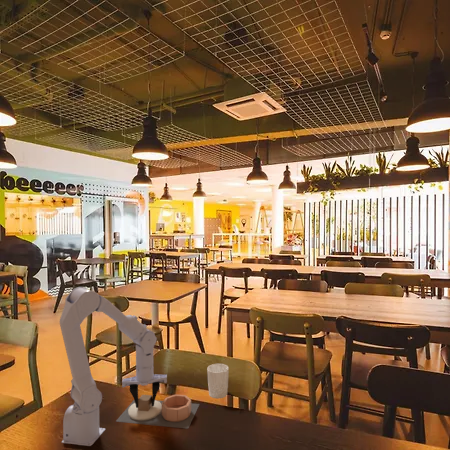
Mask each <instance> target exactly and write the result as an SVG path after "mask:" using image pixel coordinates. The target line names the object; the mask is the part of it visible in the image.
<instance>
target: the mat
mask: <svg viewBox="0 0 450 450" xmlns="http://www.w3.org/2000/svg"><path fill="white" fill-rule="evenodd" d="M155 400H156V399H155ZM156 401H159V402H160V403H161V404H162V402H163V401H164V400H158V399H157V400H156ZM134 403H135V401H134V399H133V400H132V402H131V403H130V404H129V405H128V406H127V407H126V408H125V410H124V411H123V412H122V414H120V416H119V417H118V418H117V419H116V420H115V422H119V423H129V424H137V425H147V426H157V427H158V426H159V427H169V428H177V429H178V428H179V429H186V430H187V429H189V428H190V426H191V423H192V422H193V419H194V418H195V415H196V413H197V411H198V409H199V406H200V405H201V404H200V403H192V402H191V413H190V416H189V417H188V418H187V419H185V420H183V421H179V422H170V421H167V420H165V419H164V418H163V416H162V411H161V413H160V414H159V415H158V416H156V417H155V418H152V419H149V420H144V421H137V420H133V419H131V418H130V417H129V415H128V409H129V407H130V406H131V405H132V404H134Z"/></svg>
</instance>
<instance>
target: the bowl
mask: <svg viewBox="0 0 450 450" xmlns="http://www.w3.org/2000/svg"><path fill="white" fill-rule="evenodd" d="M162 401H163V402H162V416H163V418H164V419H165V420H167V421H170V422H179V421H183V420H185V419H187V418H188V417H189V416H190V413H191V403H192V399H191V398H190V397H189V396H187V395H186V394H173V395H170V396H167V397H165V398H164V400H162Z"/></svg>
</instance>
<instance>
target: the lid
mask: <svg viewBox="0 0 450 450" xmlns="http://www.w3.org/2000/svg"><path fill="white" fill-rule="evenodd" d="M159 401H160V400H157V401H156V399H155V402H154V406H152V395H150V394H141V396H140V397H138V408H136V404H135V403H134V404H132V405H131V406H130V407H129V409H128V415H129V417H130V418H131V419H133V420H137V421H144V420H149V419H152V418H155V417H156V416H158V415H159V414H160V413H161V411H162V404H161V403H160V402H159Z"/></svg>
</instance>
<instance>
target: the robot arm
mask: <svg viewBox="0 0 450 450" xmlns="http://www.w3.org/2000/svg"><path fill="white" fill-rule="evenodd" d="M64 300H65V303H64V306H63V309H62V312H61V316H60V318H59V327H60V331H61V336H62V339H63V343H64V348H65V351H66V356H67V360H68V364H69V369H70V372H71V373H70V374H71V378H72V379H71V381H70V382H71V389H70V397H71V399H72V400H73V401H74V402H73V404H71V405H69V406H68V408H67V409H66V410H65V412H64V416H63V421H62V424H63V425H62V428H63V429H62V430H63V431H62V433H63V434H62V437H63V438H62V441H61V444H69V445H71V444H72V445H78V446H87V447H91V446H92V445H93V444H94V443H95V442H96V441H97V440H98V439H99V438H100V437H101V435H102V434H103V433H104V432H105V431H106V428H105V427H100V405H101V404H102V400H103V394H102V391H100V390H99V389H98V388H97V384H96V383H97V382H96V381H95V379H94V377H93V376H92V372H91V368H90V363H89V359H88V354H87V351H86V346H85V342H84V341H85V340H84V337H83V333H82V328H81V324H82V323H83V322H84V320H85V319H86V318H87V317H88V316H90V315H91V314H93V312H97V313H101V312H102V313H103V314H105V315H106V316H107V317H108V318H110V319H112V320H113V321H114V322H115V323H116V324H117V325H118V326H117V327H118V330H119V331H120V332H121V333H123V334H124V335H125V336H126V337H128V338H129V339H130V340H131V341H132V342H133V344H135V376H130V377H128V378H122V381H121V383H122V384H121V385H122V386H121V387H122V388H126V387H128V386H129V392H130V394H131V396H132V398H133V400H134V401H135V404H136V408H138V399H139V385H140V386H143V387H144V386H148V385H149V384H152V385H151V389H152V390H151V391H152V406H154V402H155V400H156V396H157V394H158V392H159V390H160V387H161V383H163V384H167V383H168V374H156V373H155V374H154V369H155V368H154V347H155V345H156V344H157V343H156V342H157V339H158V337H156V335H155V332H154V331H153V330H150V329H147V328H148V326H147V325H146V324H145V323H144V324H143V323H142V322H140V320H138V319H139V317H137V316H136V315H132V314H128V315H127V314H126V315H125V314H124V313H123V312H122V311H121V310H120V309H119V308H118V307H117V306H115V305H114V304H113V303H112V302H111V301H110V300H109V299H107V298H105V296H102V295H100V294H98V292H97V291H94V290H89V289H88V288H86V287H84V286H78V287H75V288H73V289H72V290H71V291H70V292H69V294H68V295H67V296H66V298H65V299H64Z"/></svg>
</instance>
